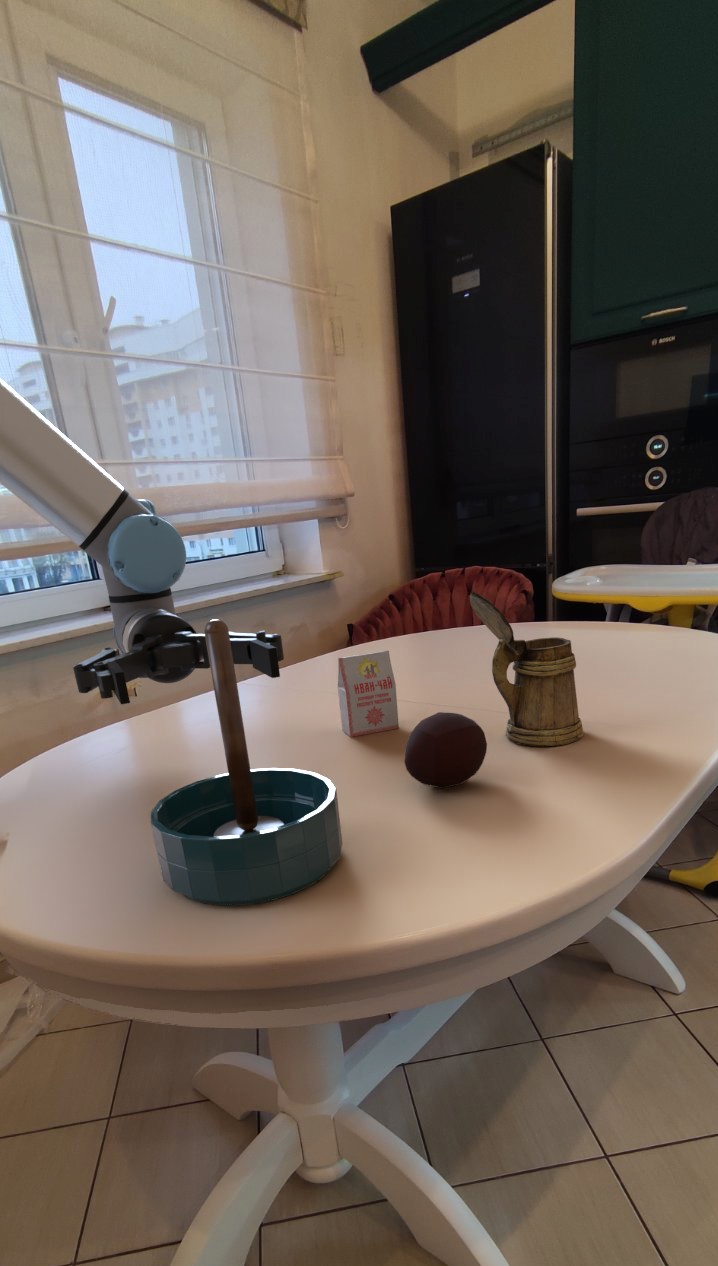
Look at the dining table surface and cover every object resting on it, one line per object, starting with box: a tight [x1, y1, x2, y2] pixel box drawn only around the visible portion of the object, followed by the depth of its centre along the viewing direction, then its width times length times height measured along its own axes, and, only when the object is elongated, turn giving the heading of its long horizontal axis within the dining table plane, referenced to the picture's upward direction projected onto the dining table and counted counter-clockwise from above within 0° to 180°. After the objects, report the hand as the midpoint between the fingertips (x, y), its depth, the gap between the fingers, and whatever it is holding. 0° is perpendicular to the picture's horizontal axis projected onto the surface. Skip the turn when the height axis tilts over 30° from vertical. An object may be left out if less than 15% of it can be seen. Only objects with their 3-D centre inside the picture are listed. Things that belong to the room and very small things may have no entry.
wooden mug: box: [469, 590, 584, 748], centre depth 83 cm, size 9×14×18 cm, turn 106°
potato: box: [403, 711, 488, 789], centre depth 74 cm, size 8×9×8 cm
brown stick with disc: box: [203, 618, 284, 837], centre depth 58 cm, size 6×6×20 cm
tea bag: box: [337, 650, 400, 738], centre depth 95 cm, size 4×7×10 cm, turn 108°
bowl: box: [149, 767, 343, 906], centre depth 61 cm, size 15×15×6 cm
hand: (201, 675), depth 64 cm, fingers open, 13 cm apart
